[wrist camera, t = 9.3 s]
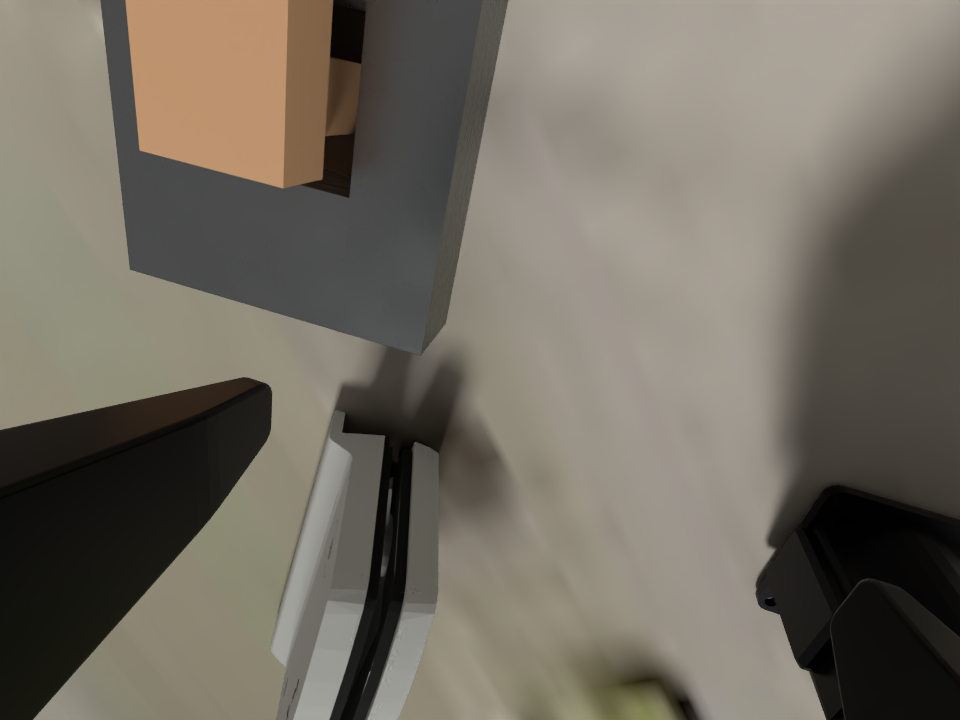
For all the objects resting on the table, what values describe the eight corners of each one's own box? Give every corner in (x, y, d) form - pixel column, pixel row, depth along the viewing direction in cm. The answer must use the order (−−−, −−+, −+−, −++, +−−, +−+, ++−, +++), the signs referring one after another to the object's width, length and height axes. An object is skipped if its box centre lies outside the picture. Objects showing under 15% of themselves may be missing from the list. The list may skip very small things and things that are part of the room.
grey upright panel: (336, 402, 23) (290, 617, 15) (439, 424, 24) (452, 634, 16) (275, 623, 31) (222, 845, 22) (355, 631, 32) (334, 844, 24)
